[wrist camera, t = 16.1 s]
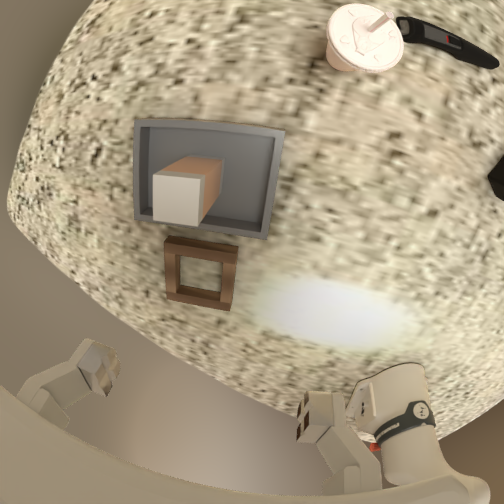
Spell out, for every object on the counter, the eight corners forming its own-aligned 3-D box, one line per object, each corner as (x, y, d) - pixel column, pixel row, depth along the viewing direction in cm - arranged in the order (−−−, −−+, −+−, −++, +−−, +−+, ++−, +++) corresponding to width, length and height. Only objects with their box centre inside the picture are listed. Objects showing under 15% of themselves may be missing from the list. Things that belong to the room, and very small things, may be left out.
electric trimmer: (487, 76, 19) (501, 76, 16) (397, 41, 20) (408, 36, 18) (485, 53, 17) (499, 52, 14) (394, 16, 18) (405, 9, 16)
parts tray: (268, 227, 33) (266, 240, 30) (146, 209, 34) (134, 219, 31) (284, 129, 27) (285, 131, 24) (148, 117, 28) (134, 119, 25)
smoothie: (377, 49, 21) (438, 17, 9) (357, 92, 24) (414, 82, 12) (325, 23, 21) (355, -32, 8) (304, 66, 24) (324, 31, 11)
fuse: (221, 191, 31) (197, 226, 22) (188, 187, 31) (153, 220, 22) (225, 157, 29) (200, 179, 20) (190, 154, 29) (152, 174, 20)
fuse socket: (231, 302, 40) (229, 311, 38) (171, 290, 40) (166, 299, 38) (238, 246, 35) (236, 254, 33) (169, 235, 35) (163, 242, 33)
